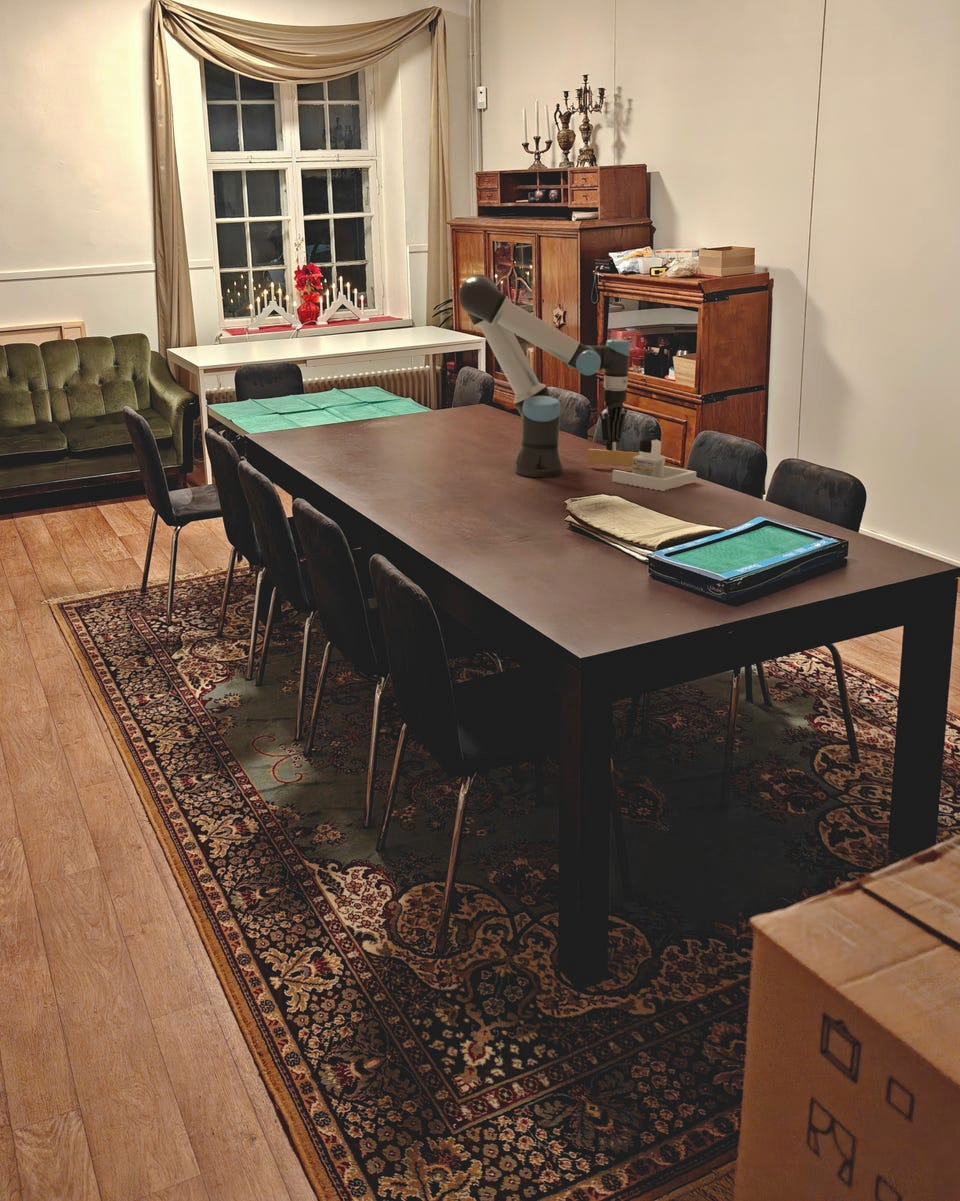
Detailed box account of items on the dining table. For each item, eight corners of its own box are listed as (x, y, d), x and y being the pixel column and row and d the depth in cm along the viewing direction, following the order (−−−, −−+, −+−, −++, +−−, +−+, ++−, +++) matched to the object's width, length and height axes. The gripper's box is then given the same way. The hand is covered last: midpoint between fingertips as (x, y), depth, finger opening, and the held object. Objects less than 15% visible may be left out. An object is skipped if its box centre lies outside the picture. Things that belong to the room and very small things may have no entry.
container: (631, 481, 355) (634, 439, 351) (640, 477, 361) (643, 436, 357) (654, 484, 351) (657, 442, 347) (663, 480, 357) (667, 439, 353)
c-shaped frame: (663, 491, 342) (664, 480, 341) (611, 481, 353) (612, 470, 352) (695, 482, 356) (696, 471, 355) (645, 473, 367) (646, 462, 366)
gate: (587, 463, 372) (588, 446, 370) (588, 462, 374) (589, 445, 372) (647, 468, 367) (649, 451, 366) (648, 466, 370) (649, 450, 368)
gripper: (613, 392, 359) (608, 466, 367) (636, 388, 369) (630, 460, 376) (594, 389, 364) (589, 462, 371) (616, 385, 373) (611, 457, 381)
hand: (610, 461), depth 374 cm, fingers closed
